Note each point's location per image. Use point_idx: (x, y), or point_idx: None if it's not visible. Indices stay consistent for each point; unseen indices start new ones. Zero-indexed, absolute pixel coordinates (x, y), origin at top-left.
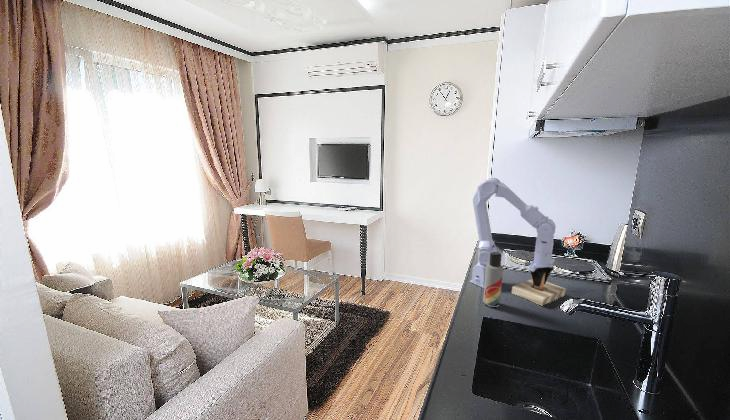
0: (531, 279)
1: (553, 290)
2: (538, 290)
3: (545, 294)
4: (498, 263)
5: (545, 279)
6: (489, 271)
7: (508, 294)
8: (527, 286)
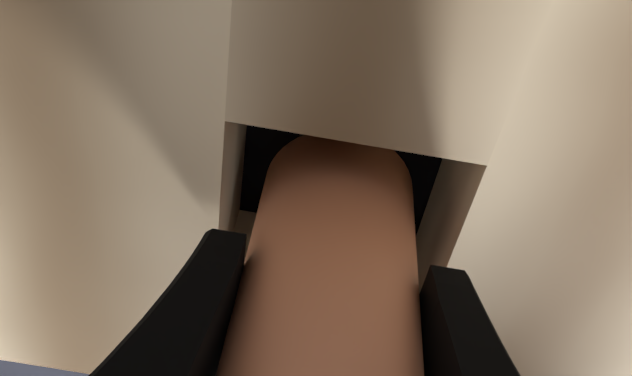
0: None
1: (225, 7)
2: (477, 211)
3: (609, 66)
4: None
5: (215, 326)
6: None
7: None
8: None
